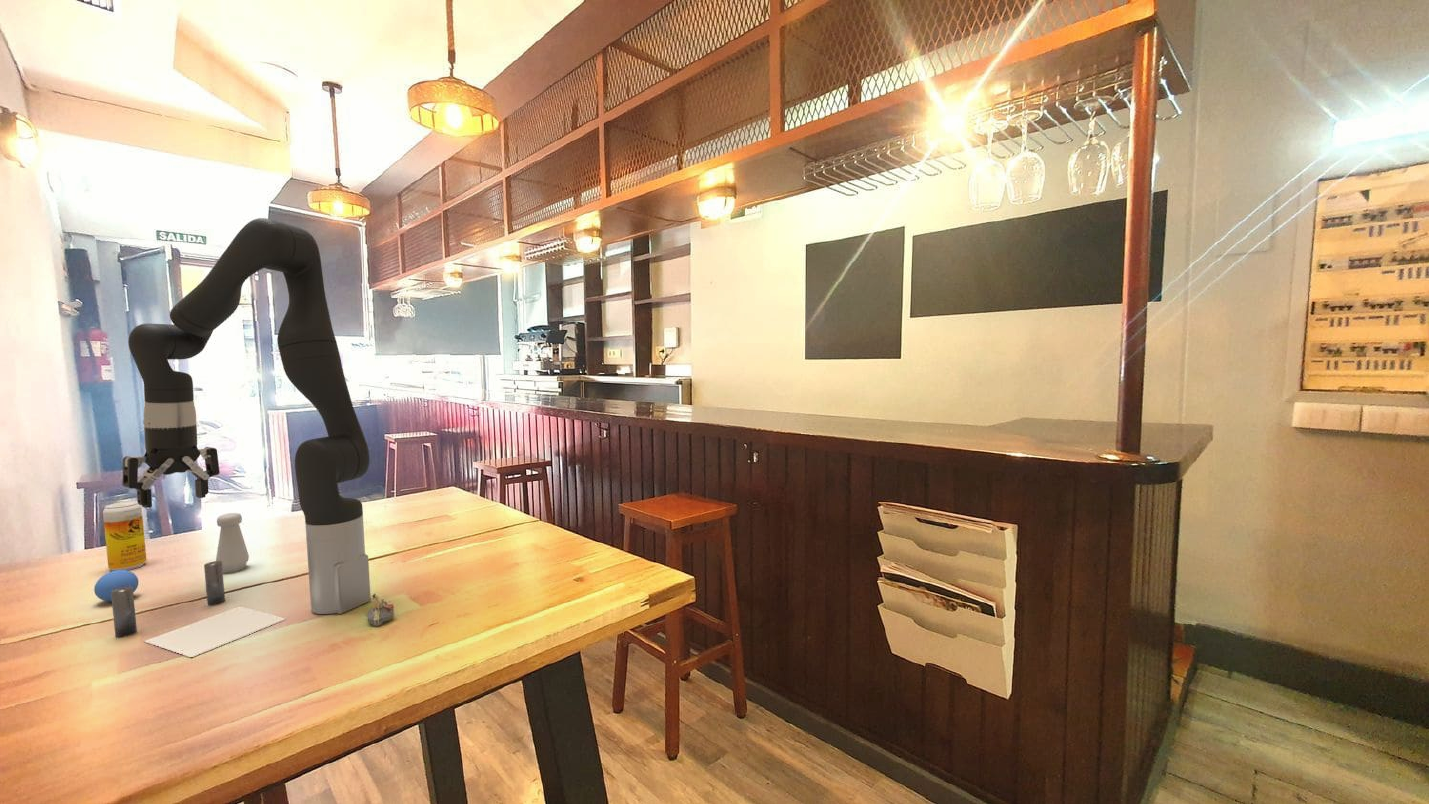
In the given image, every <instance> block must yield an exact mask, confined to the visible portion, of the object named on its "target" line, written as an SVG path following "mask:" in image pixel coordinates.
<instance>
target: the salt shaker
mask: <svg viewBox="0 0 1429 804" xmlns="http://www.w3.org/2000/svg"><path fill="white" fill-rule="evenodd" d="M242 517H243V516H242V514H240V513H238V512H230V513H225V514H221V515H219V516H218V517H217V518H216V525H217V526H218V527H220V529H219V530H220V532H219V538H218V544H217V551H216V558H215V561H222V569H223V574H230V573H231V574H232V573H236V572H239V571H243V570H244V569H245V568H246V566H247V564H248V561H249V559H250V554H249V552H248V549H247V546H246V542H245V539H244V537H243V536H244V535H243V533H242V530H241V525H240V524H241V523H242V521H243V518H242Z"/></svg>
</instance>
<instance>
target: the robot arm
mask: <svg viewBox="0 0 1429 804" xmlns="http://www.w3.org/2000/svg"><path fill="white" fill-rule="evenodd" d="M262 269H266V270H271V271H275V272H280V273H282V274H283V276H284V277H283V278H284V280H285V283H286V287H287V292H288V306H287V309H286V312H285V314H284V317H283V319H282V321H281V324H280V327H279V330H278V333H277V338H276V339H277V340H276V341H277V348H278V352H279V356H280V359H281V364H282V367H283V370H284V373H285V375H286V377H287V378H288V380H289V382H291V384H292V385H293V386H294V387H295V388H296V389H297V391H299V392H300V393H301V394H302V395H303V396H304V397H305V398H306V399H307V400H308V402H310V403H311V404H312V405H313V406H314V408H315V409H316V410H317V411H318V413H319V415H320V417H321V418H322V420H323V423H324V426H325V430H326V433H327V436H324V437H318V438H317V437H316V438H312V439H307V440H304V441H303V442H302V443H300V444H299V446H298V447H297V450H296V452H295V456H294V469H295V479H296V486H297V492H298V500H299V506H300V509H301V510H302V511H301V512H302V513H303V515H304V516H303V517H304V520H305V521H304V523H305V536H306V537H305V538H306V551H307V553H306V554H307V568H308V569H307V571H308V580H309V583H308V584H309V593H310V594H309V596H310V608H311V609H310V610H311V612H312V613H313V614H318V615H331V614H338V615H339V614H344V613H346V612H349V611H350V610H352V609H356V608H358V607H360V606H361V605H364V604H367V603H369V602H371V601H372V600H371V599H372V598H371V597H372V596H371V582H370V565H369V563H370V562H369V555H368V554H366V549H365V548H366V546H365V531H364V528H365V527H364V511H363V503H362V501H361V500H359V499H357V498H351V497H344V496H341V494H340V490H339V485H338V484H340V483H344V482H349V481H352V480H356V479H359V478H362V477H363V476H364V475H365V474H366V473H367V472H368V470H369V467H370V463H371V462H370V460H371V459H370V451H369V448H368V444H367V441H366V437H365V435H364V433H363V430H362V427H361V424H360V422H359V418H358V417H357V414H356V411H355V408H354V405H353V402H352V399H351V394H350V392H349V388H348V385H347V384H348V383H347V381H346V377H345V373H344V368H343V364H342V363H343V362H342V358H341V355H340V350H339V347H338V342H337V339H336V336H335V332H334V330H333V329H334V328H333V325H332V324H333V323H332V322H331V321H332V320H331V316H330V312H329V311H330V310H329V306H328V302H327V297H326V291H325V284H324V283H325V282H324V276H323V268H322V259H321V254H320V249H319V246H318V244H317V241H316V239H315V237H314V236H313V235H312V234H311V233H310V232H308V231H307V230H305V229H303V228H301V227H298V226H295V225H291V224H288V223H285V222H281V221H278V220H275V219H270V218H266V217H265V218H263V217H259V218H255V219H252V220H250V221H248V222H247V223H246V224H245V225H244V226H243V227H242V228H241V229H240V230H239V231H238V233H236V235H235V236H234V238H233V239H232V241H231V242H230V243H229V245H228V246H227V248H226V249H224V251H223V253H222V254H221V256H220V257H219V258H218V259H217V261H216V263H215V264H214V266H213V267H212V268H211V269H210V271H209V273H207V275H206V276H205V277H204V279H203V280H202V281H200V283H199V284H198V285H197V286H195V287H194V288H193V289H192V290H191V291H190V292H188V294H186V295H185V296H184V297H183V298H181V300H179V301H178V302H176V304H175V305H174V306H173V307H172V308H171V309H170V312H169V319H170V321H171V324H169V323H167V324H166V323H165V324H164V323H142V324H138V325H137V326H135V327H134V328H133V329H132V330H131V331H130V333H129V336H128V349H129V351H130V353H131V356H132V358H133V360H134V363H135V365H136V367H137V369H138V372H139V374H140V377H141V378H142V381H143V393H144V394H143V395H144V396H143V398H144V408H143V420H142V423H143V429H144V430H143V432H144V446H145V453H144V455H143V456H125V457H123V458H122V481H121V482H122V486H123V487H125V488H129V489H133V490H136V496H137V497H136V499H137V500H136V501H137V502H138V504H139V505H141V507H142V508H145V509H149V508H152V506H153V500H152V499H153V498H152V497H153V496H152V489H151V487H152V486H153V484H154V483H155V482H156V481H157V480H159V479H160V477H162V475H166V476H167V475H168V476H169V475H173V474H176V473H180V474H183V473H187V472H188V473H190V474H191V475H193V476H194V477H195V478H196V479H194V485H195V486H194V487H195V497H196V498H198V499H203V498H206V496H207V495H208V493H209V479H210V478H211V477H214V476H218V475H220V473H221V471H220V465H219V457H218V456H219V455H218V454H219V453H218V450H217V448H215V447H211V446H206V447H204V448H200V449H199V448H198V428H197V426H198V425H197V411H196V406H195V400H194V399H195V398H194V397H195V395H194V382H193V381H194V380H193V377H192V376H191V375H190V374H189V373H187V372H183V371H177V370H173V368H172V366H171V364H170V363H169V360H188V359H192V358H194V357H196V356H197V355H199V354H201V353H202V352H203V350H204V349H205V347H206V345H207V343H208V342H209V340H210V338H211V336H212V334H213V332H214V330H216V329H217V328H218V327H219V326H221V325H222V324H223V323H224V322H225V321H227V320H228V319H229V318H230V317H231V316H232V315H233V314H234V313H235V312H236V311H237V309H238V307H239V305H240V302H241V298H242V288H243V286H244V283H245V281H246V280H248V279H249V278H250V277H251V276H253V275H254V274H256V273H258V272H259V271H261V270H262ZM200 456H201V458H202V459H204V465H205V470H204V469H203V468H202V467H201V466H200V465H199V464H198V463H196V461H197V460H198V458H200ZM143 463H145V464H146V465H147V466H148V467H147V468H146V470H145V471H143V473H142V475H141V477H140V478H138V475H139V474H138V471H139V468H140V467H142V465H143Z"/></svg>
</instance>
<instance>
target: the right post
mask: <svg viewBox="0 0 1429 804" xmlns="http://www.w3.org/2000/svg"><path fill="white" fill-rule="evenodd" d="M203 569H204V570H203V571H204V580H205V592H206V593H205V594H206V602H207V604H208V605H207V606H216V605H215V604H217V605H219V604H223V603H225V602H226V596H225V585H224V584H225V583H224V573H223V569H222V561H216V560H214V561H209V562H207V563H205V564H203Z"/></svg>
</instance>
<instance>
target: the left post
mask: <svg viewBox="0 0 1429 804" xmlns="http://www.w3.org/2000/svg"><path fill="white" fill-rule="evenodd" d="M134 596H135V595H134V593H133V587H122V588H118V589H115V590H113V591H111V598H112V602H111V605H112V616H113V617H112V618H113V627H114V633H115V634H114V636H115V637H116V638H124V637H128V636H131V635H134V634H135V633H137V631H138V629H137V628H138V626H137V618H136V608H135V599H134V598H135V597H134Z"/></svg>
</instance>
